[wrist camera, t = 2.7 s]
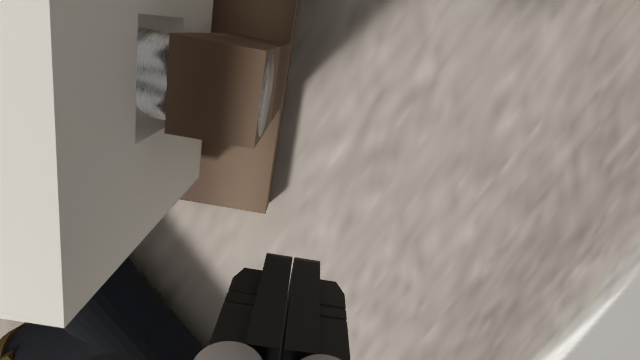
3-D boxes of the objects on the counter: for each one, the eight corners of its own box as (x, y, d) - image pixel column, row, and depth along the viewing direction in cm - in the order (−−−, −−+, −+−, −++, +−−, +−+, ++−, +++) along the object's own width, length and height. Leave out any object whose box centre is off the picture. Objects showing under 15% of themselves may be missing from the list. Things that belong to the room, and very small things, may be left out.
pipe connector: (67, 482, 27) (-116, 319, 23) (106, 412, 32) (-37, 268, 28) (210, 416, 25) (40, 225, 21) (228, 353, 30) (94, 189, 26)
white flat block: (219, -75, 18) (37, -257, 7) (198, 176, 22) (64, 328, 11) (162, -86, 18) (-120, -290, 7) (152, 168, 22) (-33, 313, 11)
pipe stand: (312, -94, 20) (299, -207, 10) (268, 203, 25) (233, 305, 16) (-155, -189, 19) (-638, -411, 9) (-97, 141, 24) (-365, 210, 15)
